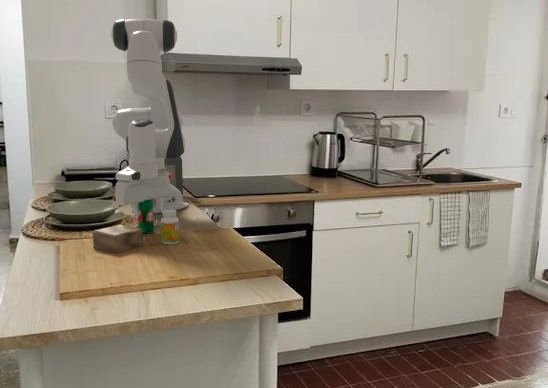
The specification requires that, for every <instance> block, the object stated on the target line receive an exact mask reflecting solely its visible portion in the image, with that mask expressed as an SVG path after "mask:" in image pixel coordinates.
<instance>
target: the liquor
mask: <svg viewBox="0 0 548 388" xmlns="http://www.w3.org/2000/svg"><path fill="white" fill-rule="evenodd" d="M164 164H165V170H167V172H168V173H169V174H172V176H173V178H172V179H170V178H169V180H170V184H171V185H173V186H174V187H175V188H177V189H178V190H179V191H180V192H181V194H182V196H183V195H184V185H183V183H184V182H183V181H184V180H183V179H184V178H183V159H182V156H180V157H179V158H177V159H166V158H164ZM165 172H166V171H165Z"/></svg>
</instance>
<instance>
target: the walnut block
mask: <svg viewBox="0 0 548 388" xmlns="http://www.w3.org/2000/svg"><path fill="white" fill-rule="evenodd" d="M92 244H93V248H94V247H96V248H95V249H98V248H99V250H103V251H106V252H110V251H111V253H114V252H115V254H117V252H118V253H120V251H121V252H124V250H125V251H128V250H131V249H130V248H132V249H134V247H135V248H138V247H137V246H139V247H141V246H140V245H143V246H144V234H143V230H141V229H139V228H138V227H134V226H129V225H123V224H117V225H113V226H108V227H105V228H104V227H103V228H99V229H95V230H94V231H92ZM127 249H128V250H127Z"/></svg>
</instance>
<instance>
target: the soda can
mask: <svg viewBox="0 0 548 388" xmlns="http://www.w3.org/2000/svg"><path fill="white" fill-rule="evenodd" d="M137 208H138V210H140V211H141V216H138V217H136V218H137V228H139V229H141V230H143V235H144V234H146V235H147V234H151V233H154V231H155V219H154V218H155V217H154V214H155V213H153V198H151V196H147V198H146V199H145V200H144V202H139V203H138V206H137Z"/></svg>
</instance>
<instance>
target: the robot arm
mask: <svg viewBox="0 0 548 388" xmlns="http://www.w3.org/2000/svg"><path fill="white" fill-rule="evenodd" d="M110 32H111V33H110V35H111V40H112V43H113V44H114V47H115V48H117V50H121V51H123V52H126V72H127V74H126V75H127V79H128V82H129V83H130V85H131V90H132V92H133V94H135V95H136V96H137V97H139V98H141V99H142V100H145V101H147V102H148V103H149V107H128V108H124V109H118V110H117V111H116V112H115V113H114V115H113V116H112V119H111V120H112V121H111V123H112V128H113V130H114V132H115V133H116V134H117V136H119V137H121V138H122V139H123V140H124V141H125V144H126V145H125V146H126V152H127V153H128V154H129V160H128V166H126V167H125V168H124V169H121V170H120V171H117V173H115V178H116V180H118V181H117V182H116V184H115V190H114V191H115V202H116V203H117V204H118V205H120V206H129V207H130V208H131V211H132V212H133V217H135V218H137V217H138V216H141V211H140V210H138V208H137V206H138V203H139V202H144V200H145V199H146V198H147V196H151V198H153V214H163V210H169V209H172V210H176V211H178V210H181V209H186V208H188V207H189V203H187V202H185V201H183V195H182V194H181V192H180V191H179V190H178V189H177V188H175V187H174V186H173V185H171V184H170V180H169V178H170V179H172V178H173V176H172V174H169V173H168V172H167V170H165V164H164V158H166V159H177V158H179V157H182V155H183V154H185V151H186V139H185V136H184V133H183V131H182V130H183V126H184V119H183V116H182V114H181V113H180V112H179V110H178V106H177V102H176V98H175V94H174V93H175V92H174V89H173V85H172V84H171V80H168V79H166V77H165V75H164V74H163V65H162V64H163V63H162V55H161V52H163V55H166V53H168V52H170V51H173V49H174V48H175V47H176V44H177V41H178V31H177V29H176V27H175V24H174V23H173V22H172V21H170V20H167V19H162V20H161V19H156V18H155V19H154V18H130V19H126V18H122V19H117V20H115V21H114V22H113V25H112V28H111V31H110ZM165 171H166V172H165Z"/></svg>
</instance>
